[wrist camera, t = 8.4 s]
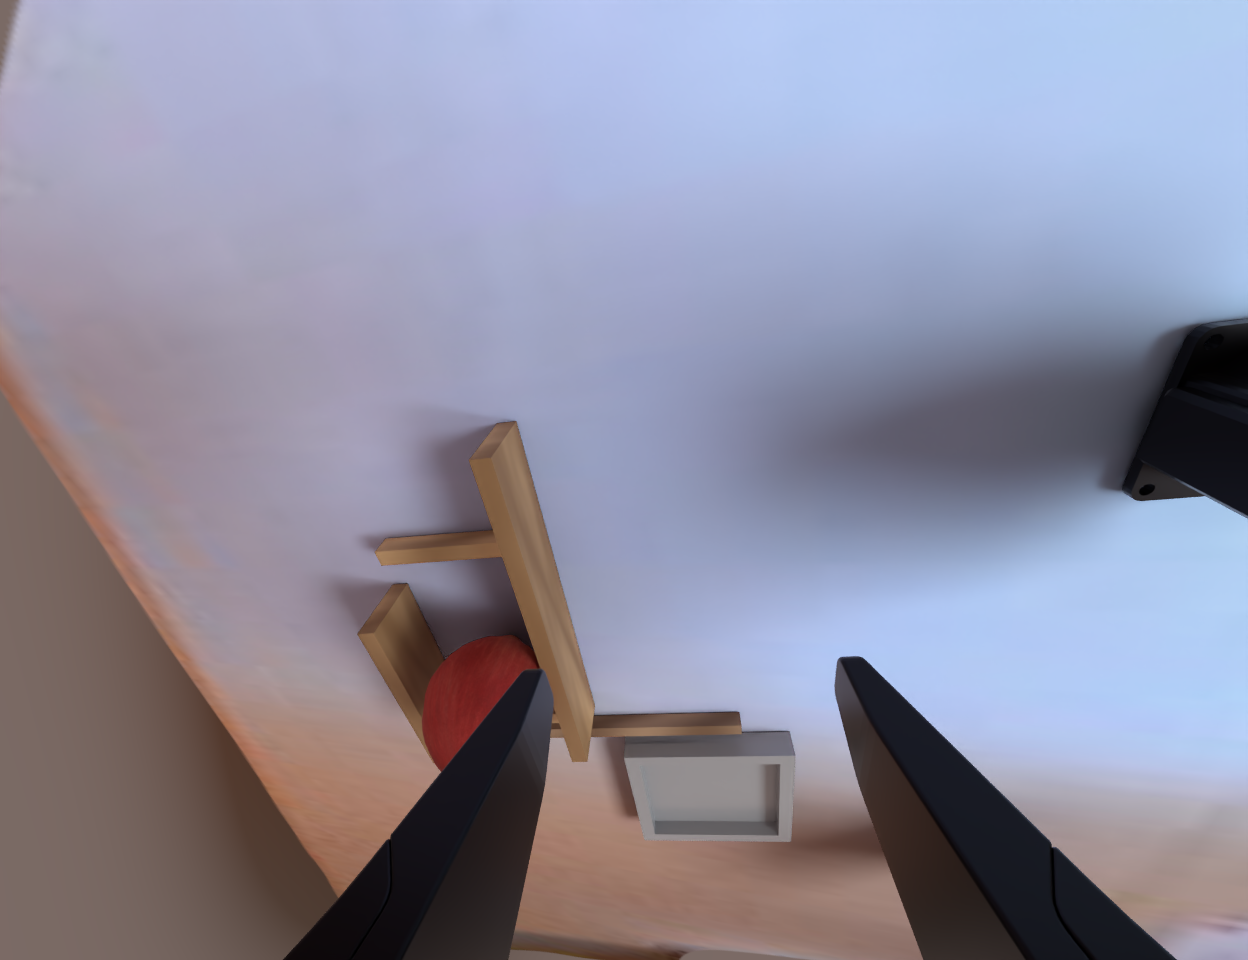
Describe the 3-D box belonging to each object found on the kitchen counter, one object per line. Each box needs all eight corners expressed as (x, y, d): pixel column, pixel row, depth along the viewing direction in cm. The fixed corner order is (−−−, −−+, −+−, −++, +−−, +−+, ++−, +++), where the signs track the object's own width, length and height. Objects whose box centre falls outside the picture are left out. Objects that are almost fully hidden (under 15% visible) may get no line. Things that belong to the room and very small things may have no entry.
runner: (739, 712, 27) (741, 725, 26) (739, 720, 27) (741, 734, 27) (472, 718, 29) (468, 731, 28) (476, 726, 29) (471, 739, 29)
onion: (586, 659, 26) (557, 826, 19) (502, 687, 27) (447, 850, 20) (524, 585, 23) (465, 745, 16) (436, 621, 25) (349, 779, 18)
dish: (789, 731, 27) (795, 755, 26) (786, 817, 32) (791, 841, 31) (625, 734, 29) (624, 757, 28) (645, 817, 33) (644, 840, 32)
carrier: (516, 421, 19) (490, 457, 16) (594, 705, 28) (587, 761, 25) (321, 443, 20) (266, 480, 17) (455, 709, 29) (433, 763, 26)
